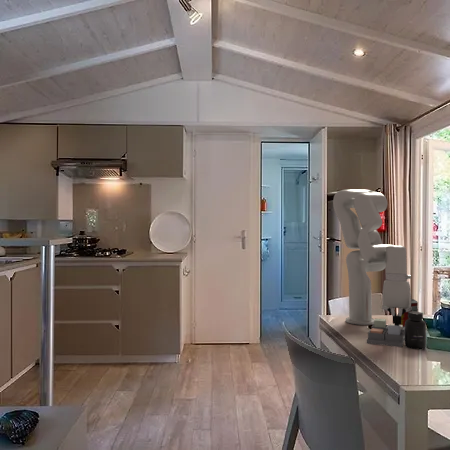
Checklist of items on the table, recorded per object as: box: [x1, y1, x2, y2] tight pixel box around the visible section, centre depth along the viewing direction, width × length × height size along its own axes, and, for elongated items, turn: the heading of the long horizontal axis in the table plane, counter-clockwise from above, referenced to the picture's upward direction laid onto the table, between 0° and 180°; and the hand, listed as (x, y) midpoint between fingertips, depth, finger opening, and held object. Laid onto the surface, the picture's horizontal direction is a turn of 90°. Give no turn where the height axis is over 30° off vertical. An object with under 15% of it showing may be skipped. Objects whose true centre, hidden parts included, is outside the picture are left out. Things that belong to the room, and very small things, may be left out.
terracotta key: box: [371, 327, 383, 334], centre depth 161 cm, size 4×4×2 cm
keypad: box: [366, 324, 405, 348], centre depth 164 cm, size 20×12×3 cm, turn 154°
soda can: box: [400, 298, 419, 326], centre depth 177 cm, size 7×7×12 cm
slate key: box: [388, 324, 401, 335], centre depth 158 cm, size 4×4×2 cm
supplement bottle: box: [404, 311, 427, 350], centre depth 152 cm, size 7×7×12 cm
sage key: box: [374, 318, 387, 328], centre depth 170 cm, size 4×4×2 cm
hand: (397, 325), depth 167 cm, fingers closed
